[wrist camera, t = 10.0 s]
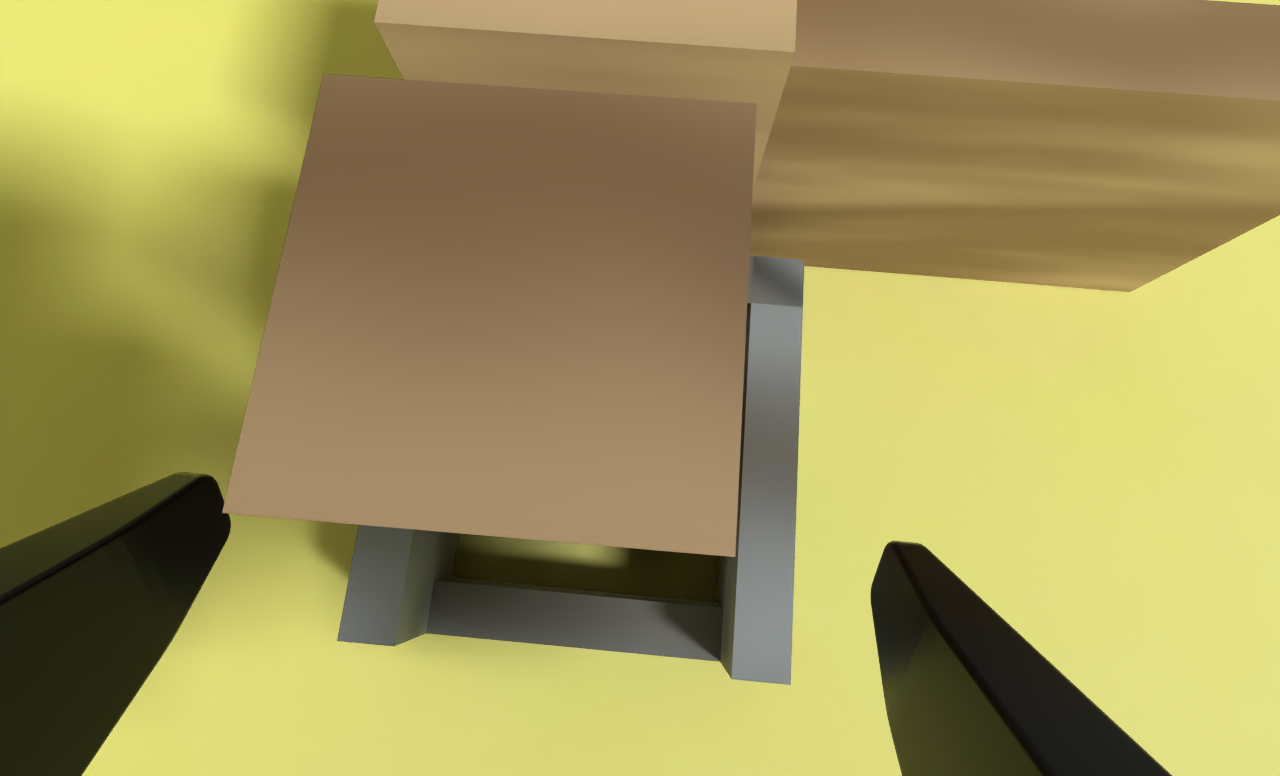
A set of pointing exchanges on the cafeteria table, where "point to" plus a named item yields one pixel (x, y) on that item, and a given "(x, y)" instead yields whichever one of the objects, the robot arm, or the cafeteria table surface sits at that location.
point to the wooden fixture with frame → (860, 218)
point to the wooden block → (509, 318)
